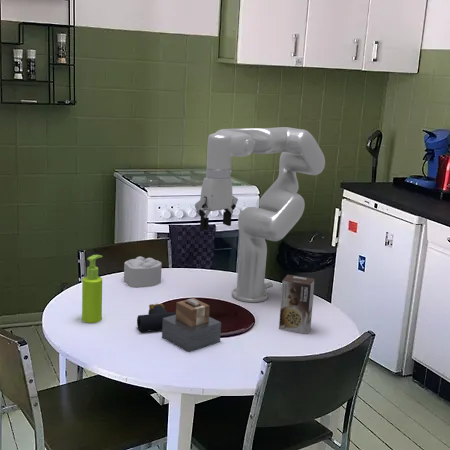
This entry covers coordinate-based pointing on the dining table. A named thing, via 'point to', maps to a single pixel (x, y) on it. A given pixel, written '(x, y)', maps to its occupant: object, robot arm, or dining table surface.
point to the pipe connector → (153, 318)
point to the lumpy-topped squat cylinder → (142, 272)
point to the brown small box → (192, 313)
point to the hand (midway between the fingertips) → (215, 227)
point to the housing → (191, 331)
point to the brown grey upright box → (296, 303)
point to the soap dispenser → (92, 293)
